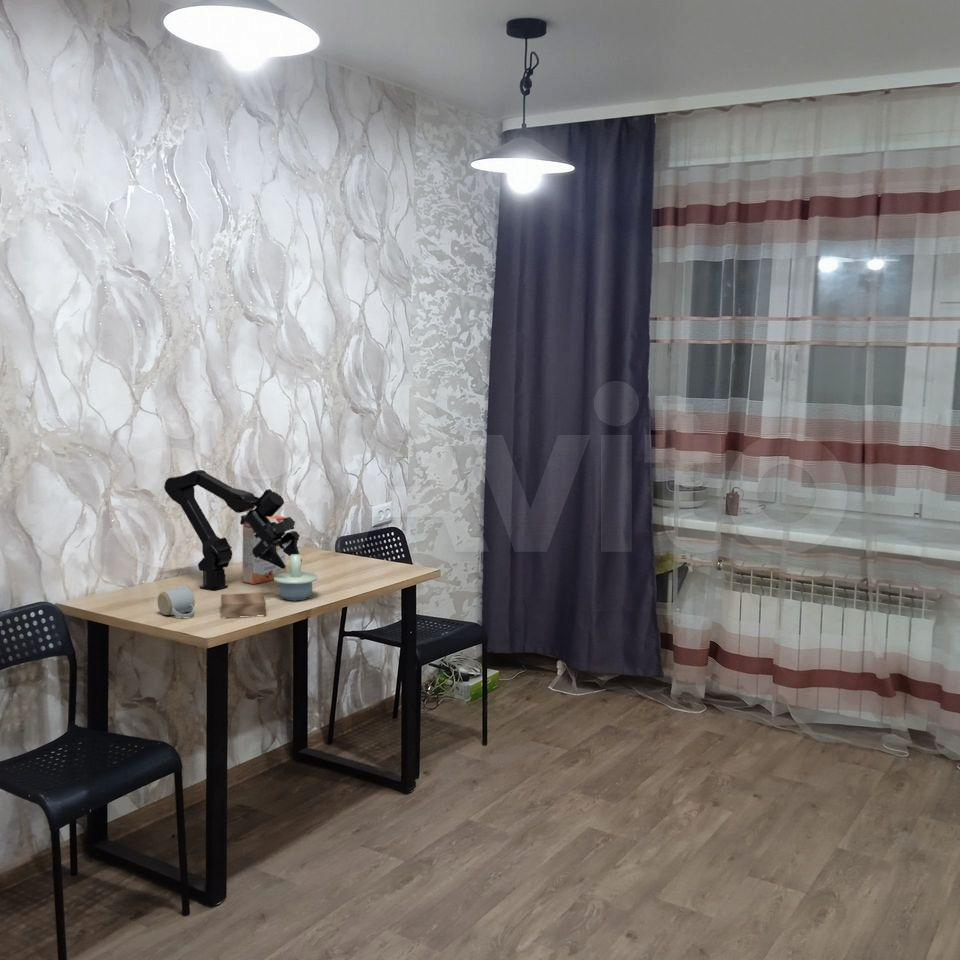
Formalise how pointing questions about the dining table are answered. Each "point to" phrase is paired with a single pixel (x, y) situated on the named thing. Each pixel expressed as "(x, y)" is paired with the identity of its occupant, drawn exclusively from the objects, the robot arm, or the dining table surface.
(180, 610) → the ceramic mug
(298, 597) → the glazed bowl
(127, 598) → the dining table surface
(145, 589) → the dining table surface
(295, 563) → the lid
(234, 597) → the walnut stand
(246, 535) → the cracker box
